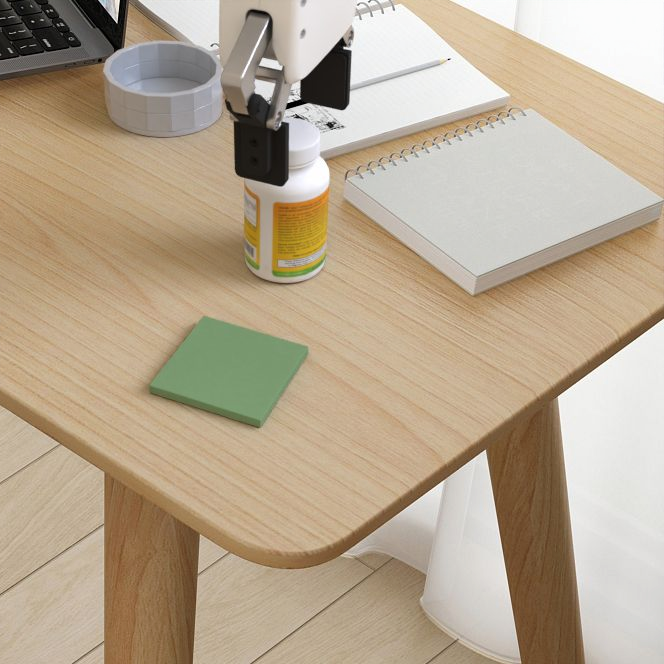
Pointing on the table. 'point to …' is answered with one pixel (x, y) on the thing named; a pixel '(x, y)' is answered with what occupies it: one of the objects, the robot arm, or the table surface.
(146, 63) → the bowl
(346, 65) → the robot arm
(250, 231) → the supplement bottle
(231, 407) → the green flat square slab
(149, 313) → the table surface
